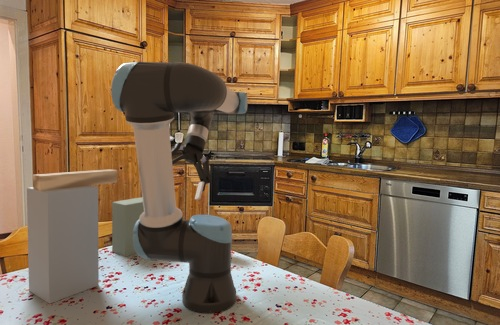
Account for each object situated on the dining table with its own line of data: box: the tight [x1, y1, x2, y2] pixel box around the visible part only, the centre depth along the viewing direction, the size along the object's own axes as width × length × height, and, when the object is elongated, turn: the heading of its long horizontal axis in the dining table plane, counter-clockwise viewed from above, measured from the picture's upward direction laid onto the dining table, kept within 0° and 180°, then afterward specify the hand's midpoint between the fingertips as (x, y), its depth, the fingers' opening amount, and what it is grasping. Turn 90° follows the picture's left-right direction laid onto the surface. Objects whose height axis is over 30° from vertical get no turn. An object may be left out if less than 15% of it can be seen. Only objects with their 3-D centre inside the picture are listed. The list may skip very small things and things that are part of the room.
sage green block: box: [111, 196, 144, 257], centre depth 130 cm, size 8×14×20 cm, turn 146°
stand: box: [26, 185, 100, 304], centre depth 96 cm, size 12×14×30 cm
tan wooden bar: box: [32, 168, 118, 191], centre depth 98 cm, size 4×23×4 cm, turn 146°
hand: (181, 192), depth 114 cm, fingers open, 13 cm apart
